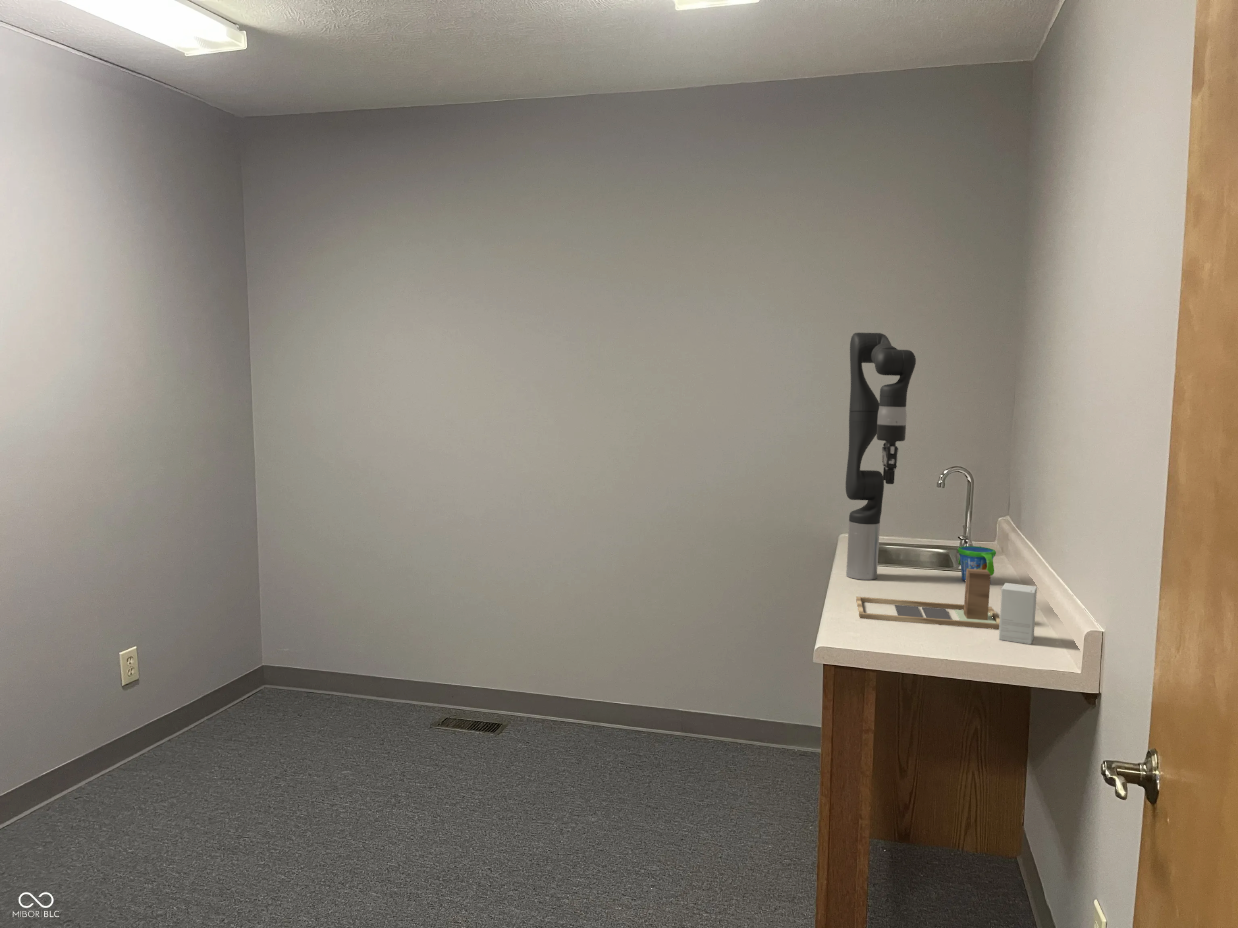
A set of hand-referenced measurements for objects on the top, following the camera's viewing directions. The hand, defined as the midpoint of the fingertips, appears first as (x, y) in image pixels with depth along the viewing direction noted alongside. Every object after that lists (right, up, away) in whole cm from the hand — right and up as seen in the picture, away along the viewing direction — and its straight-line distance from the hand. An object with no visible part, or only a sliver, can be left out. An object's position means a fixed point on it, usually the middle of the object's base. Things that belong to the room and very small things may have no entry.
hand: (888, 482), depth 239 cm
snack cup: (+36, -31, +29) cm, 56 cm away
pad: (+19, -35, -13) cm, 42 cm away
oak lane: (+7, -35, -10) cm, 37 cm away
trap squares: (+7, -35, -10) cm, 37 cm away
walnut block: (+19, -35, -13) cm, 41 cm away
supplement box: (+21, -37, -30) cm, 52 cm away
